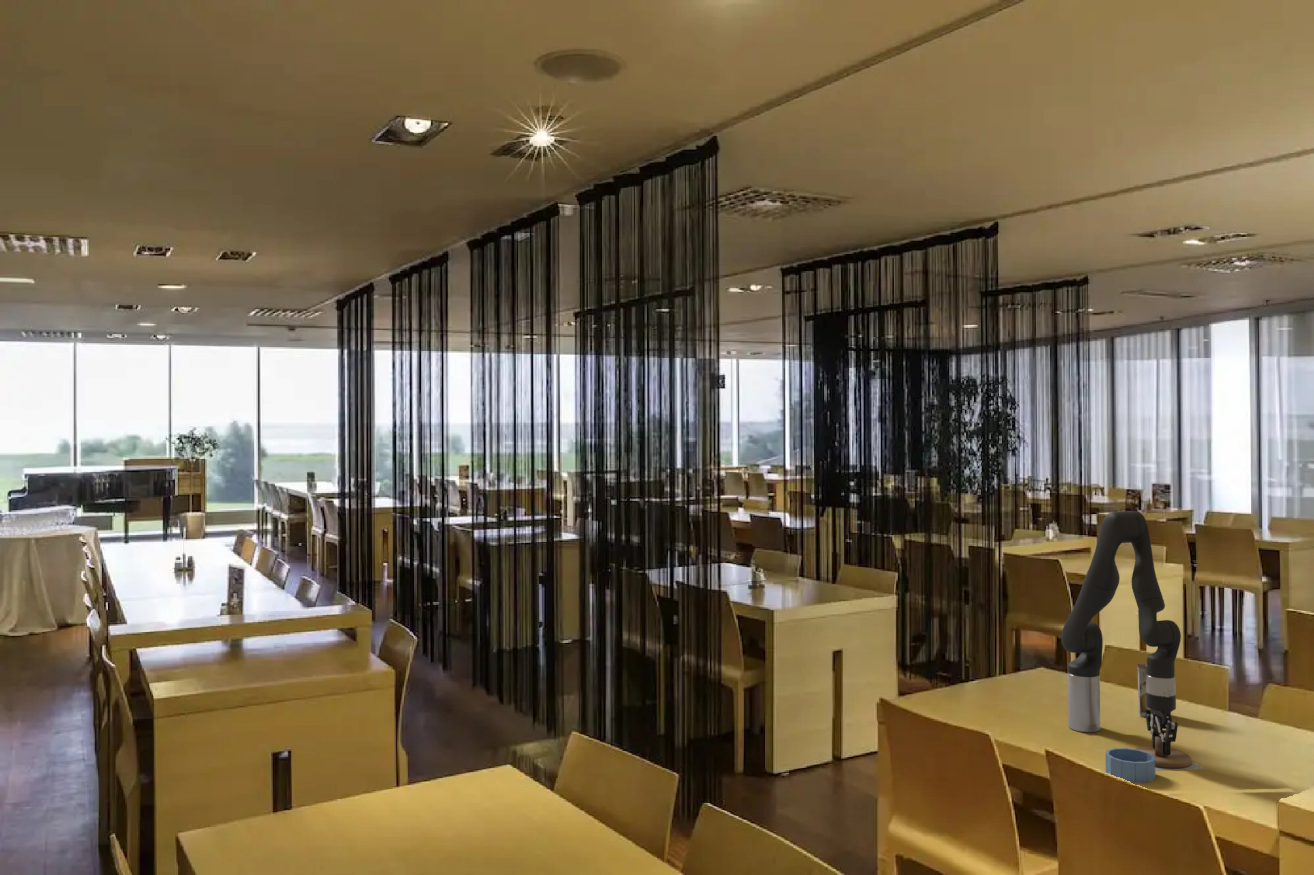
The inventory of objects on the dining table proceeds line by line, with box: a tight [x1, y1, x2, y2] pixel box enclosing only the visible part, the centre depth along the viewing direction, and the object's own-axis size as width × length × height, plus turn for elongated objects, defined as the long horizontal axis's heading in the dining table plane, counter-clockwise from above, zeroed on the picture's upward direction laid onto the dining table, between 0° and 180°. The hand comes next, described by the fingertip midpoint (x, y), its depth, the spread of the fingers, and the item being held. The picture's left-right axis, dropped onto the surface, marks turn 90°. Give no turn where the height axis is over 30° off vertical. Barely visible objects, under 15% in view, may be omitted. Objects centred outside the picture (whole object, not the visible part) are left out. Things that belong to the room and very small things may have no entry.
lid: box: [1135, 735, 1193, 769], centre depth 280 cm, size 15×15×6 cm
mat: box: [1156, 760, 1205, 771], centre depth 280 cm, size 16×16×1 cm
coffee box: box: [1137, 663, 1149, 718], centre depth 324 cm, size 9×6×16 cm
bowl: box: [1105, 747, 1157, 784], centre depth 269 cm, size 12×12×6 cm
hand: (1161, 751), depth 280 cm, fingers open, 4 cm apart
